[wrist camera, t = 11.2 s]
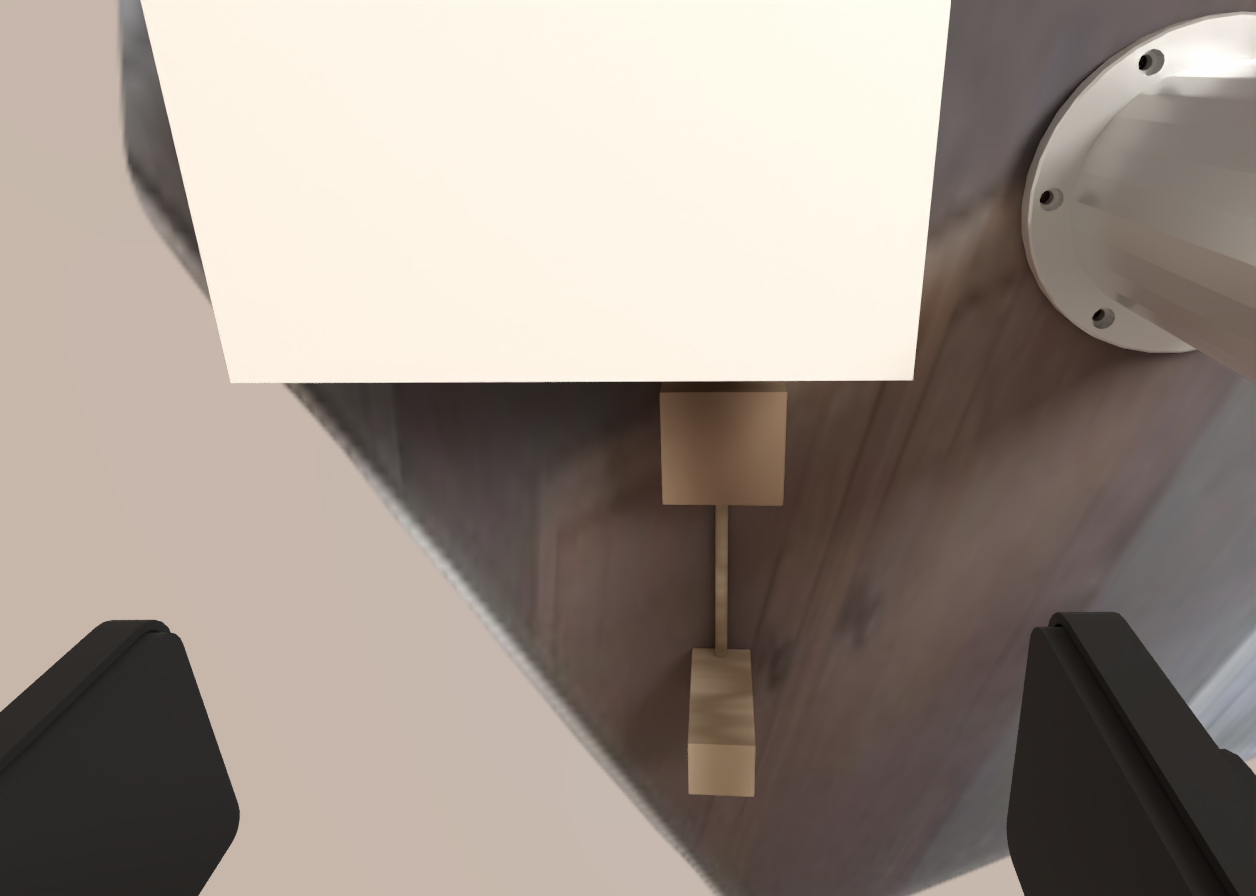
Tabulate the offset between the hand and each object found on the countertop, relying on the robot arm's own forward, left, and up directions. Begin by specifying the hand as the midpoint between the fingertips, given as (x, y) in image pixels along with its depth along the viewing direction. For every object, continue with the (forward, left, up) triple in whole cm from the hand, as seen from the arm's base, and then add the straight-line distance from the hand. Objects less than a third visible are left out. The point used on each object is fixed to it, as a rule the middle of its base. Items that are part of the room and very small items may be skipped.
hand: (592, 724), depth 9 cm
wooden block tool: (-2, +15, -30) cm, 33 cm away
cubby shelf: (+3, -6, -30) cm, 30 cm away
